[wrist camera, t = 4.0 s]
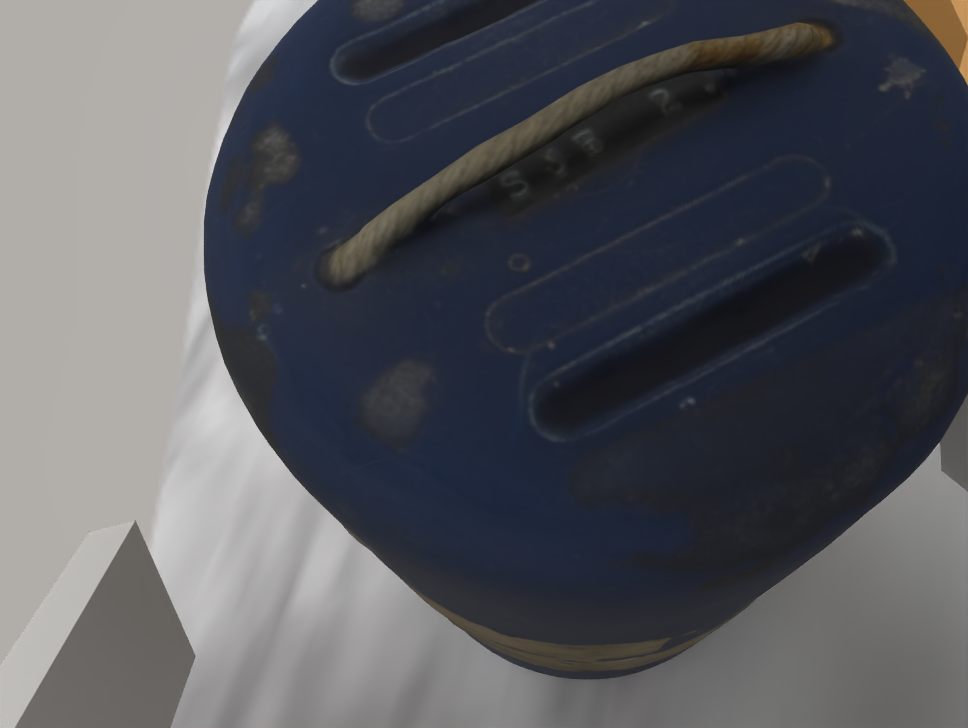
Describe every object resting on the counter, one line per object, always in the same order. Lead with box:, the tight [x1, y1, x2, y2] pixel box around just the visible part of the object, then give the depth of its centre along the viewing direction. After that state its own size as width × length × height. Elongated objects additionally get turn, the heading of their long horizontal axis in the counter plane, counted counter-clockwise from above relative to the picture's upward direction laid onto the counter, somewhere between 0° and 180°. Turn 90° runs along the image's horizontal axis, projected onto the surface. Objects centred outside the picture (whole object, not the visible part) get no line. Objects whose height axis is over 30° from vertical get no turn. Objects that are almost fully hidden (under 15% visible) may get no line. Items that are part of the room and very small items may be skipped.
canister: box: [204, 0, 968, 679], centre depth 17 cm, size 10×10×18 cm
